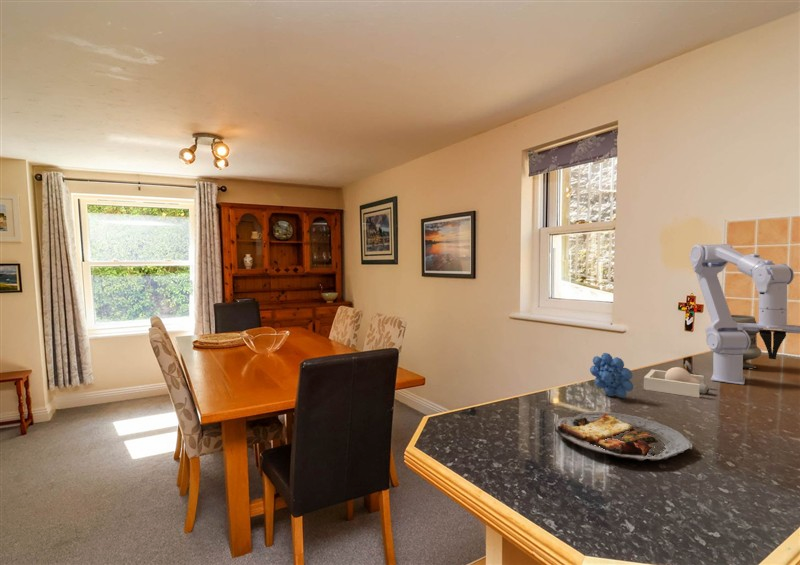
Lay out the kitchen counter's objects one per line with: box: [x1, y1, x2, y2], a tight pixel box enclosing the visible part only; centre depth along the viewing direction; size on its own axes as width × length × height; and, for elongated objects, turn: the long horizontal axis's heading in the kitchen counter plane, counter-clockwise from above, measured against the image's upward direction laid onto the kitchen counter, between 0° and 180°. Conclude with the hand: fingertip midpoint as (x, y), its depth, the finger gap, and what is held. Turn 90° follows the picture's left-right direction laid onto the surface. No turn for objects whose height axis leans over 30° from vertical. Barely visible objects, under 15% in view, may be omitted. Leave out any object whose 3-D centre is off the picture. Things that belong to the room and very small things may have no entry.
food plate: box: [553, 411, 694, 462], centre depth 85 cm, size 25×23×4 cm
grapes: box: [589, 352, 634, 399], centre depth 114 cm, size 12×7×12 cm, turn 39°
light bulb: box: [665, 366, 710, 395], centre depth 119 cm, size 7×7×11 cm
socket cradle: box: [643, 368, 705, 399], centre depth 121 cm, size 12×13×4 cm
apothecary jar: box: [731, 314, 762, 368], centre depth 146 cm, size 12×12×18 cm
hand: (772, 358), depth 112 cm, fingers closed
